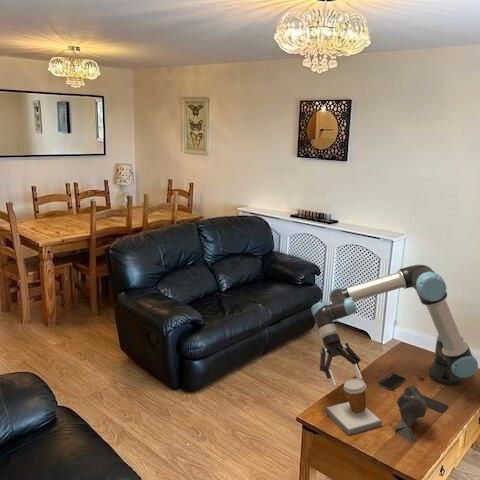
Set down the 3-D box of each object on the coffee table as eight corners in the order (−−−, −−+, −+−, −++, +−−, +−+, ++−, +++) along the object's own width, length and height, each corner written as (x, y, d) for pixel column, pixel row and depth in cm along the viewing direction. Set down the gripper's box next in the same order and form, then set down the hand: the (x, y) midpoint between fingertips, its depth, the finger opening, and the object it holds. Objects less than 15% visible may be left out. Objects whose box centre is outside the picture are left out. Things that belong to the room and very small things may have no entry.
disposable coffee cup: (370, 414, 199) (366, 389, 196) (347, 415, 201) (343, 390, 198) (368, 401, 208) (364, 376, 205) (346, 402, 210) (342, 378, 207)
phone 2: (377, 383, 229) (392, 372, 239) (376, 385, 229) (392, 374, 239) (391, 390, 223) (407, 378, 233) (391, 392, 224) (407, 380, 234)
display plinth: (356, 403, 213) (357, 398, 212) (381, 425, 198) (382, 420, 197) (324, 412, 206) (325, 407, 206) (348, 435, 191) (348, 430, 191)
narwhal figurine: (434, 429, 196) (439, 391, 192) (412, 443, 188) (417, 403, 183) (404, 412, 207) (409, 375, 203) (382, 424, 199) (387, 386, 194)
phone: (416, 392, 223) (448, 405, 212) (416, 393, 223) (448, 407, 213) (409, 398, 217) (442, 412, 207) (409, 400, 218) (442, 414, 207)
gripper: (348, 334, 220) (366, 379, 211) (302, 343, 210) (318, 390, 201) (356, 328, 214) (375, 374, 205) (309, 337, 204) (326, 386, 195)
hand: (347, 382), depth 203 cm, fingers open, 13 cm apart
